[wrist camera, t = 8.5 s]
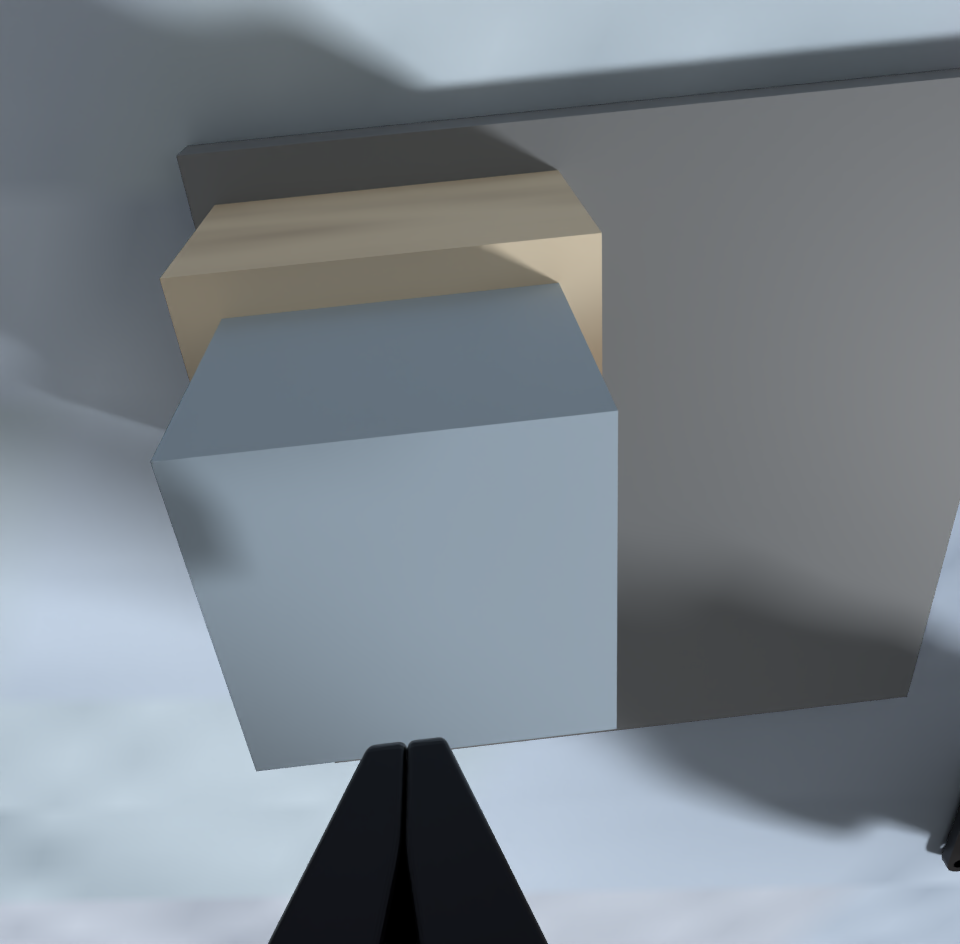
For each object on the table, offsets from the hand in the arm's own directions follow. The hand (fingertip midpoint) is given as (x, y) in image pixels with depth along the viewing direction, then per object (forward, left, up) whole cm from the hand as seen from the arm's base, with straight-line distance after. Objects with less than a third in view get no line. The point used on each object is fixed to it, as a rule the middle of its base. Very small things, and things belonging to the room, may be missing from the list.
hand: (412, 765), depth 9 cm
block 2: (0, 0, -7) cm, 7 cm away
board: (-5, -5, -12) cm, 14 cm away
